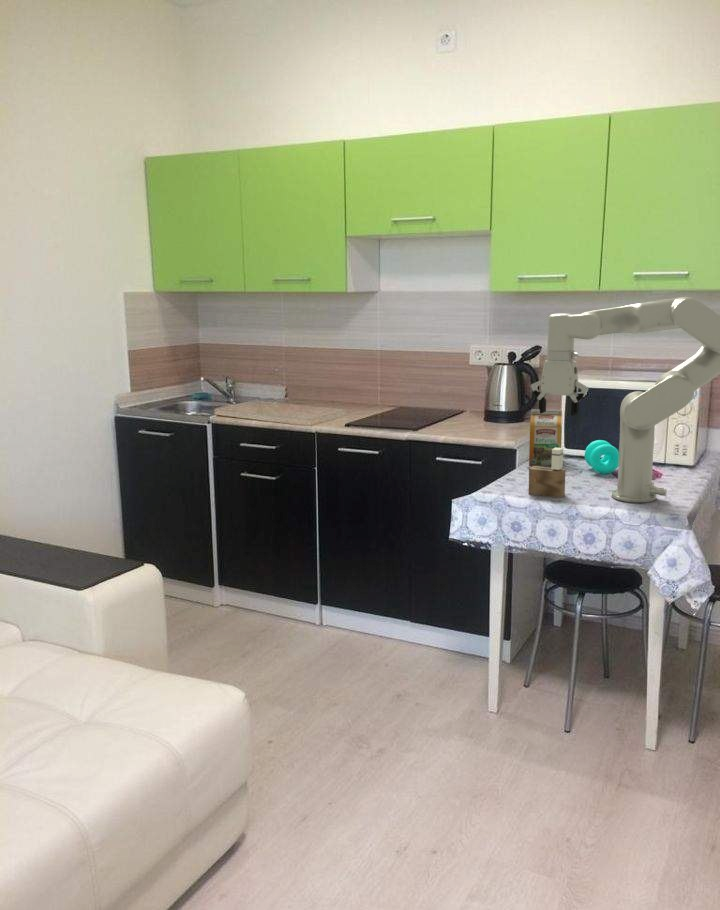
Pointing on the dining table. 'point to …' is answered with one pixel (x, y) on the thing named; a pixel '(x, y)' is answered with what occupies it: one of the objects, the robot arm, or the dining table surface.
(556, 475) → the brown wooden block
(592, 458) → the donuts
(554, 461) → the white lidded box
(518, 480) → the dining table surface
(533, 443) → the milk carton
